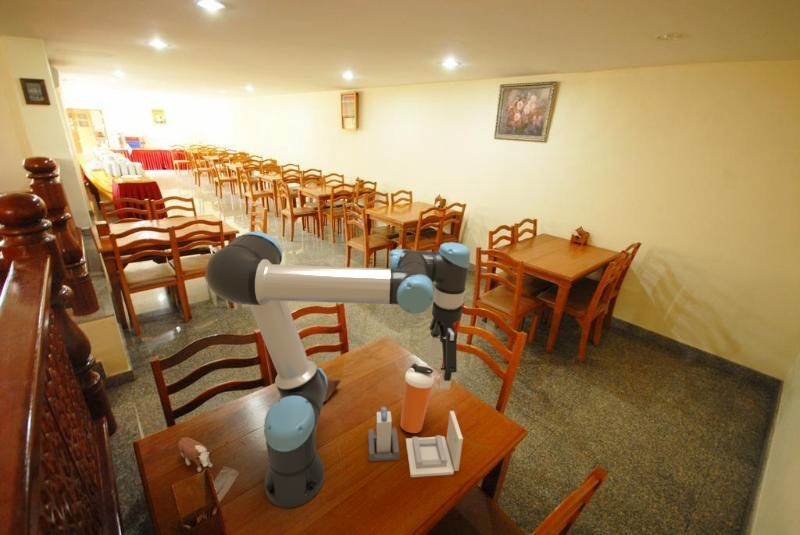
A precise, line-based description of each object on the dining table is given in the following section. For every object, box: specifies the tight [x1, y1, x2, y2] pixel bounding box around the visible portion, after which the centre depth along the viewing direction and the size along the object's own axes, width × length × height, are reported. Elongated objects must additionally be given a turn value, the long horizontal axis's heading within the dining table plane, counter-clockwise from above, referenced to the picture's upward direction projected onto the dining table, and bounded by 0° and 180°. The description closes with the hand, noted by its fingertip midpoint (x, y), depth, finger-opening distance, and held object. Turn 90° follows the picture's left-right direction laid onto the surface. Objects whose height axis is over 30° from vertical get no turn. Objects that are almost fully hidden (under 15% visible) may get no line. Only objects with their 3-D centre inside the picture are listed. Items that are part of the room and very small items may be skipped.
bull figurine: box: [177, 436, 214, 473], centre depth 95 cm, size 4×13×8 cm, turn 58°
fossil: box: [324, 377, 342, 402], centre depth 121 cm, size 13×8×10 cm
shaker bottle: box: [400, 362, 435, 434], centre depth 110 cm, size 9×9×20 cm
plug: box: [375, 406, 392, 454], centre depth 102 cm, size 4×4×14 cm
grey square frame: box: [368, 427, 400, 462], centre depth 104 cm, size 8×8×3 cm
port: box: [405, 410, 464, 478], centre depth 100 cm, size 14×12×12 cm
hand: (438, 371), depth 98 cm, fingers open, 13 cm apart
